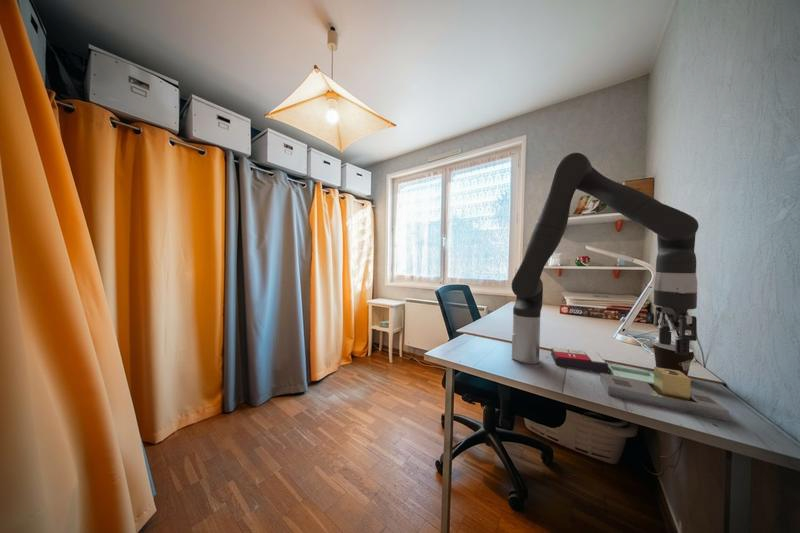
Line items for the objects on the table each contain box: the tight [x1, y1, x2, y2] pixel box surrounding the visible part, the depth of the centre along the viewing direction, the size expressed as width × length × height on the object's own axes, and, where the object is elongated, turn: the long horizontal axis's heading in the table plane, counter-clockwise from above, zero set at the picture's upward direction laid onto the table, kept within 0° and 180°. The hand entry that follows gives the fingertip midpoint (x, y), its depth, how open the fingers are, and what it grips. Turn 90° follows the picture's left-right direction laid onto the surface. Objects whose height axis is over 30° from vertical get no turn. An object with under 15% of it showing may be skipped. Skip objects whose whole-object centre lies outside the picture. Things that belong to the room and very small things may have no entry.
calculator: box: [550, 346, 609, 374], centre depth 87 cm, size 11×4×15 cm
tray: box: [608, 364, 654, 383], centre depth 75 cm, size 11×11×2 cm
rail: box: [599, 372, 730, 422], centre depth 65 cm, size 22×9×3 cm, turn 61°
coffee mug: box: [652, 341, 695, 377], centre depth 77 cm, size 12×9×10 cm
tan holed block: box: [653, 366, 692, 401], centre depth 63 cm, size 5×5×8 cm
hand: (672, 349), depth 63 cm, fingers open, 8 cm apart
